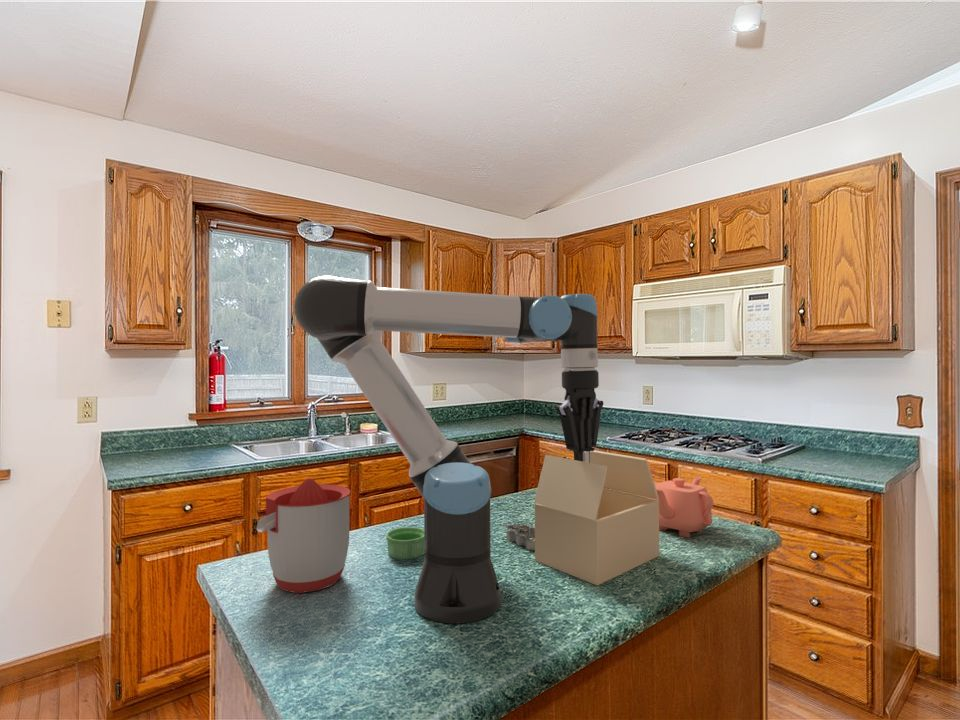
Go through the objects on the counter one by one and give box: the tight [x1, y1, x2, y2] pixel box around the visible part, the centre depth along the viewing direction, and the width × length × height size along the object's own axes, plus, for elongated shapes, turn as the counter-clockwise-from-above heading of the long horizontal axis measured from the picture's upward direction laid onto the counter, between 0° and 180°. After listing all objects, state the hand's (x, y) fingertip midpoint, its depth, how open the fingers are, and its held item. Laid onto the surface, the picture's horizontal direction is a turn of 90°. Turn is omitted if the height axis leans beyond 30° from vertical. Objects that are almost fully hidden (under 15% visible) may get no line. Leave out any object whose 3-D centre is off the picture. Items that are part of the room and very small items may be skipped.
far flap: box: [590, 449, 659, 500], centre depth 116 cm, size 10×16×1 cm
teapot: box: [649, 476, 714, 538], centre depth 129 cm, size 15×17×13 cm
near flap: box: [533, 454, 608, 520], centre depth 104 cm, size 10×16×1 cm
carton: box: [534, 488, 660, 586], centre depth 110 cm, size 22×16×12 cm
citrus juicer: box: [256, 477, 351, 594], centre depth 99 cm, size 16×17×20 cm
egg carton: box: [503, 522, 535, 551], centre depth 120 cm, size 11×8×4 cm
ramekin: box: [385, 526, 425, 560], centre depth 114 cm, size 9×9×4 cm
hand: (582, 482), depth 107 cm, fingers closed
